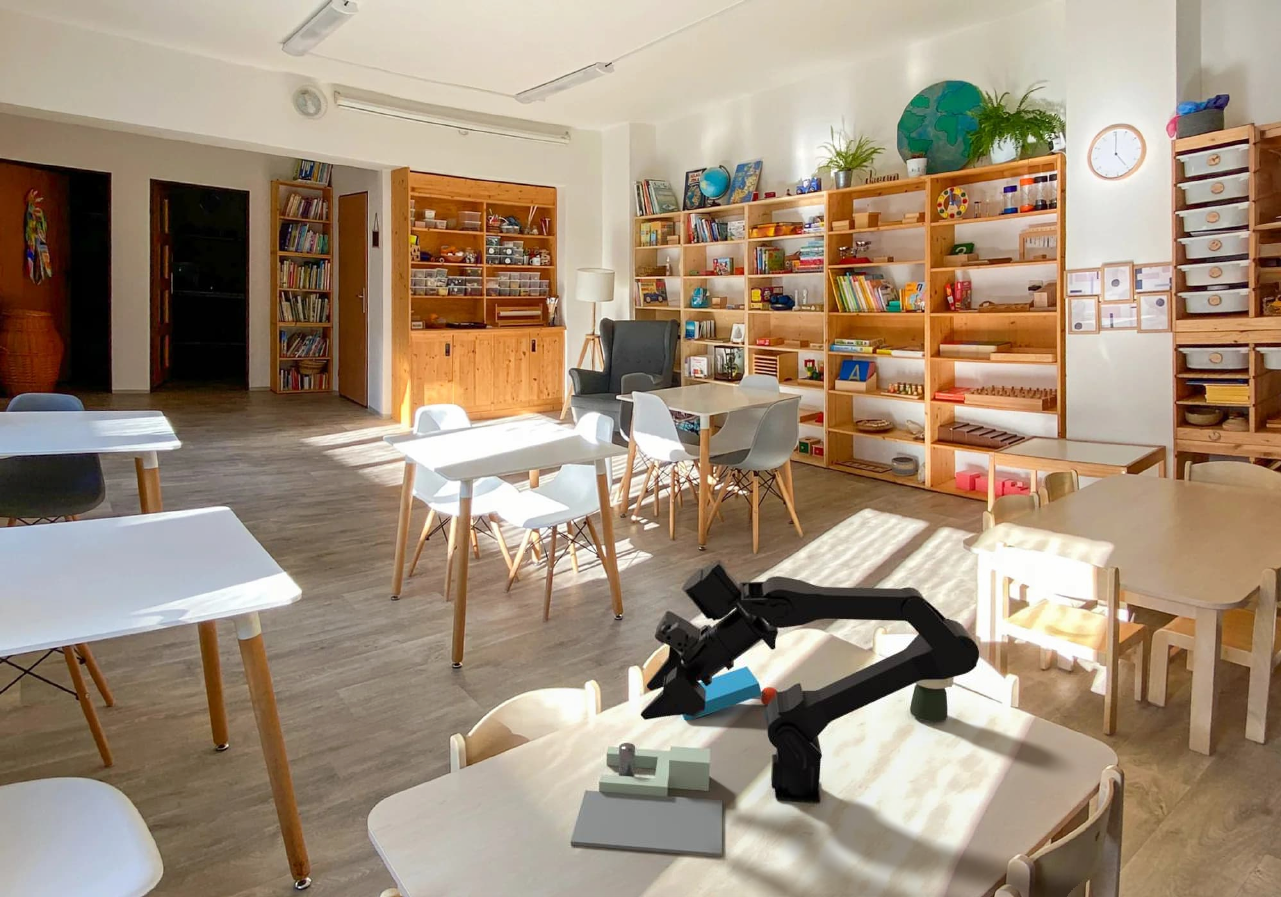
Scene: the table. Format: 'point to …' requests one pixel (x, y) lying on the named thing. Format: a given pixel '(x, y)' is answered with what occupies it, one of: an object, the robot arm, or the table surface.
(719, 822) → the mat
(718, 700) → the lever
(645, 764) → the c link
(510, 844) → the table surface
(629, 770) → the grey metal rod
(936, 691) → the cream and green cup
